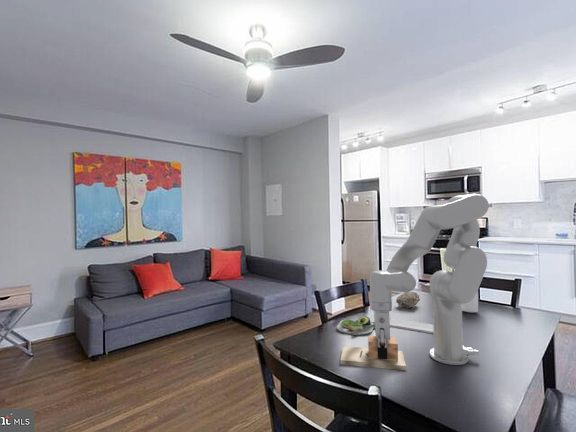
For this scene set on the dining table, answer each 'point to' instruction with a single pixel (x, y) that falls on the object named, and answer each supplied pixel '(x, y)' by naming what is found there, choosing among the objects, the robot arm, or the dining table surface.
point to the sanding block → (390, 345)
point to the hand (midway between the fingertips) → (382, 354)
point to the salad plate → (356, 326)
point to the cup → (471, 305)
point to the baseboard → (409, 325)
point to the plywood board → (361, 358)
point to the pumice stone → (408, 299)
